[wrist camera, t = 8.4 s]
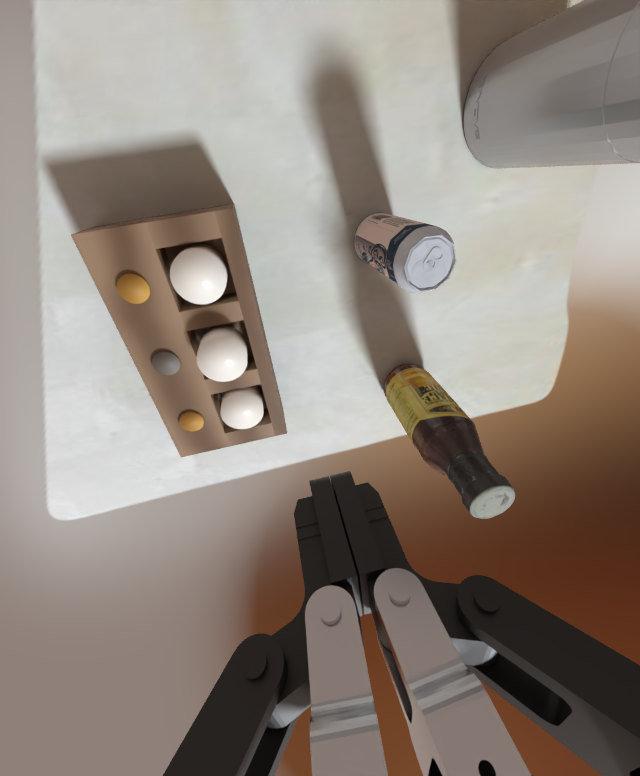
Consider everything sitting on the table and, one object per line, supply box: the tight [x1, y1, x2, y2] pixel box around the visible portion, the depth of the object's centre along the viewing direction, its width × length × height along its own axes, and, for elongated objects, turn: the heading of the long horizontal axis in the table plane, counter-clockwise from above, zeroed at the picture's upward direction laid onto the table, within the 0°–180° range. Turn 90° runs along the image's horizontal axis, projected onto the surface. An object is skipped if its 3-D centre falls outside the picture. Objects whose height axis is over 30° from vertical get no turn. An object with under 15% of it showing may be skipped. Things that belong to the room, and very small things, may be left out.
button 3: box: [220, 385, 264, 429], centre depth 36 cm, size 4×4×3 cm
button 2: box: [196, 325, 247, 382], centre depth 31 cm, size 4×4×3 cm
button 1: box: [170, 243, 228, 304], centre depth 29 cm, size 4×4×3 cm
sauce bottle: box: [384, 365, 515, 519], centre depth 36 cm, size 6×6×20 cm
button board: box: [71, 204, 287, 457], centre depth 34 cm, size 12×23×5 cm, turn 7°
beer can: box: [354, 213, 456, 294], centre depth 29 cm, size 5×5×12 cm
